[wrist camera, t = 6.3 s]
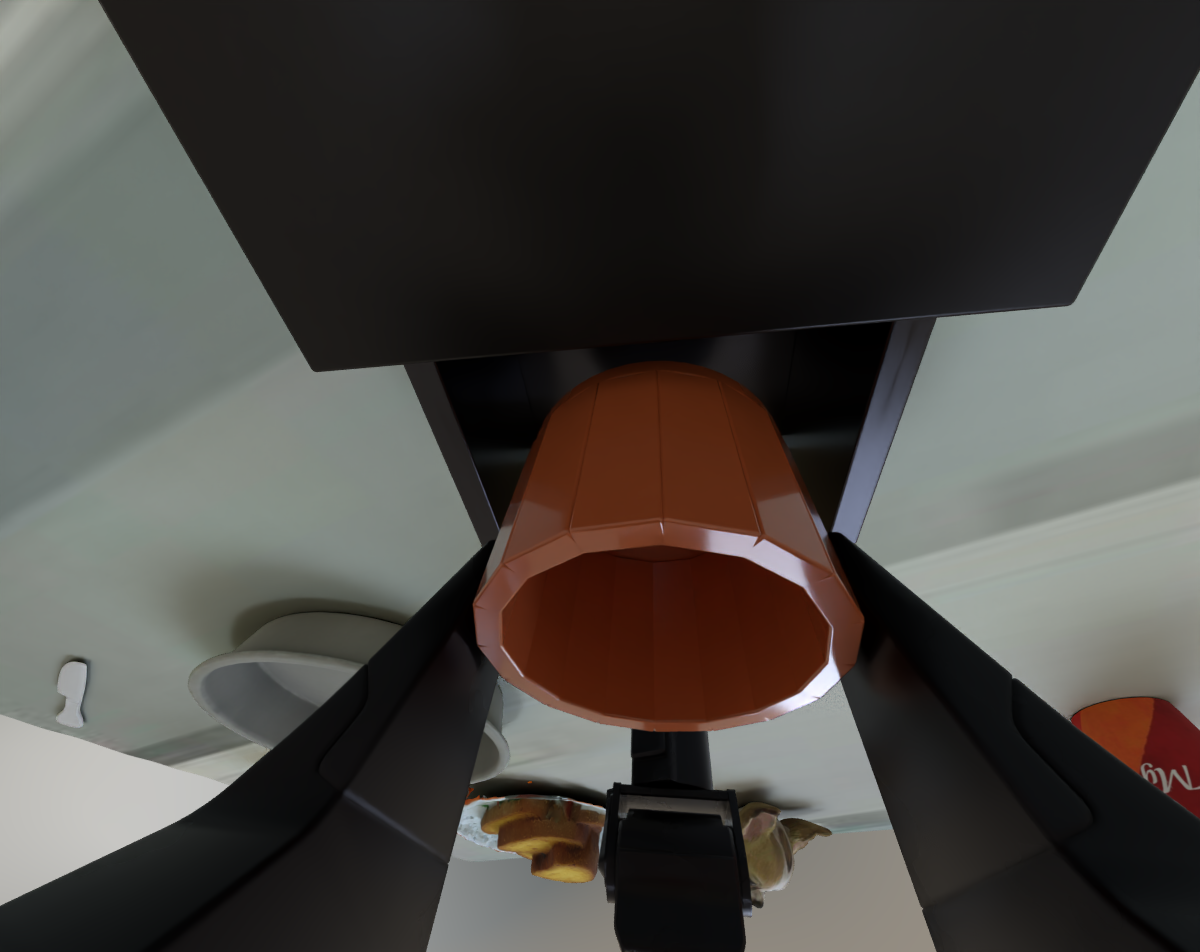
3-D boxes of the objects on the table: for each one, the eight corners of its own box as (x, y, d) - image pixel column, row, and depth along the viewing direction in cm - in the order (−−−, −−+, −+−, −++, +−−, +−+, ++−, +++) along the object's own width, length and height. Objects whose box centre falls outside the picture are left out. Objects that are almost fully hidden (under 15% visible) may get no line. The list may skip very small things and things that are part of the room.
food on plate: (423, 774, 53) (400, 841, 48) (620, 781, 49) (617, 856, 44) (493, 830, 69) (481, 886, 64) (647, 839, 64) (648, 900, 59)
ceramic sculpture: (674, 907, 46) (794, 887, 39) (667, 808, 53) (767, 776, 46) (738, 923, 50) (858, 908, 42) (724, 829, 57) (825, 802, 49)
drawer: (797, 489, 19) (854, 625, 14) (531, 499, 21) (493, 622, 16) (896, 22, 10) (1161, -93, 5) (415, 110, 12) (233, 93, 7)
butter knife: (51, 721, 51) (80, 729, 52) (58, 658, 39) (96, 670, 40) (55, 717, 52) (84, 726, 53) (63, 653, 40) (100, 666, 41)
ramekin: (822, 502, 11) (913, 695, 7) (624, 580, 14) (615, 750, 10) (703, 298, 8) (751, 440, 5) (483, 447, 11) (396, 615, 7)
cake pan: (160, 594, 32) (99, 652, 28) (477, 597, 28) (452, 663, 25) (326, 731, 47) (300, 779, 43) (545, 743, 43) (536, 797, 40)
